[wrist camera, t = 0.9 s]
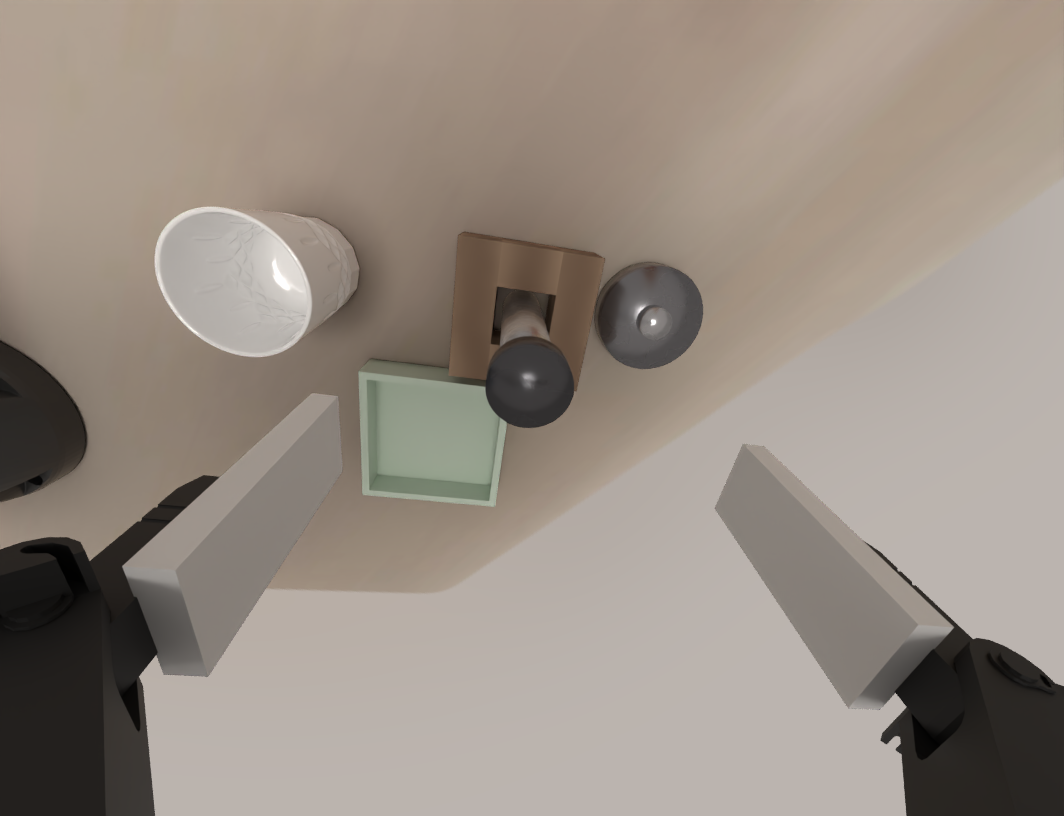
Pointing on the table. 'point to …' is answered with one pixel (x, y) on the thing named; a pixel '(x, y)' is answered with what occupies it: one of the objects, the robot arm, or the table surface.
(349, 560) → the table surface
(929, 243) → the table surface
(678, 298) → the grey pot lid
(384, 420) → the tray
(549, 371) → the lock pin
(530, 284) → the block
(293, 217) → the white cup
